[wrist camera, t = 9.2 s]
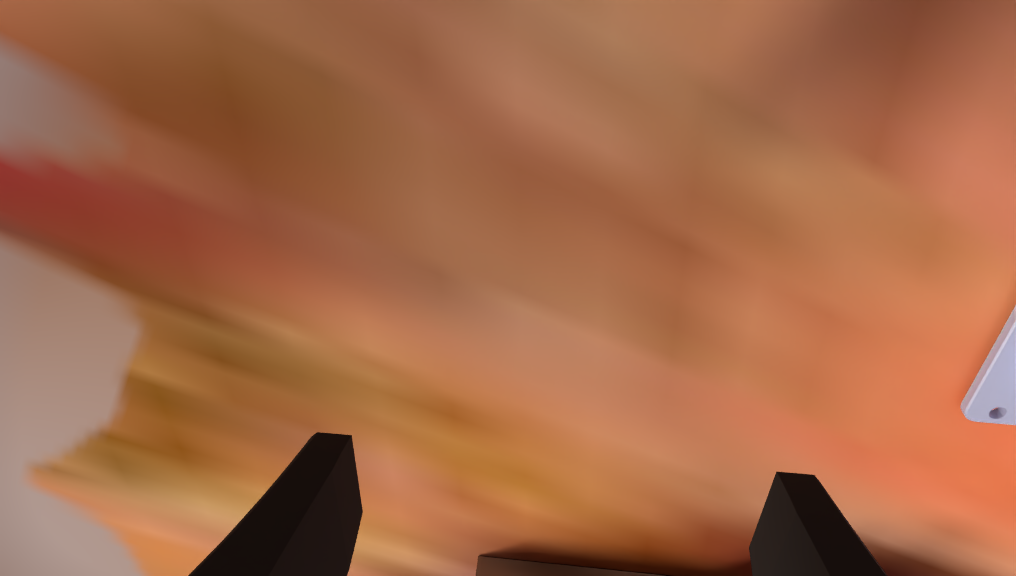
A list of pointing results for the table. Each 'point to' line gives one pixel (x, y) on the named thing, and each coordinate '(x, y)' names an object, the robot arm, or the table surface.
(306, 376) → the table surface
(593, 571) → the dock
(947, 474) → the table surface
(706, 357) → the table surface
